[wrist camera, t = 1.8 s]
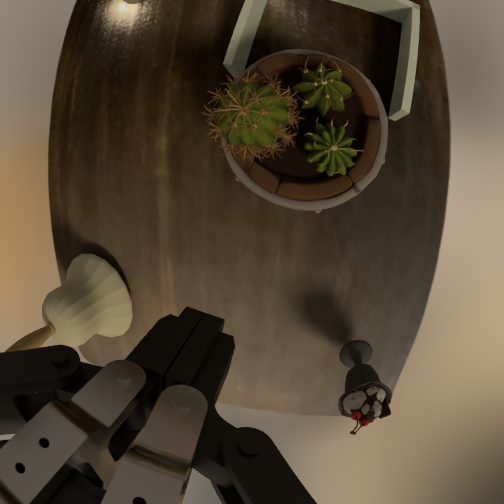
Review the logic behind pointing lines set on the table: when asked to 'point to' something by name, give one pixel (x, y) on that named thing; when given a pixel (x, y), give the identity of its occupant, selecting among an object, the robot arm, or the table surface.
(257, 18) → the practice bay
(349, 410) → the sundae
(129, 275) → the table surface
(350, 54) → the table surface
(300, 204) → the flowerpot
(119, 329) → the handbell
